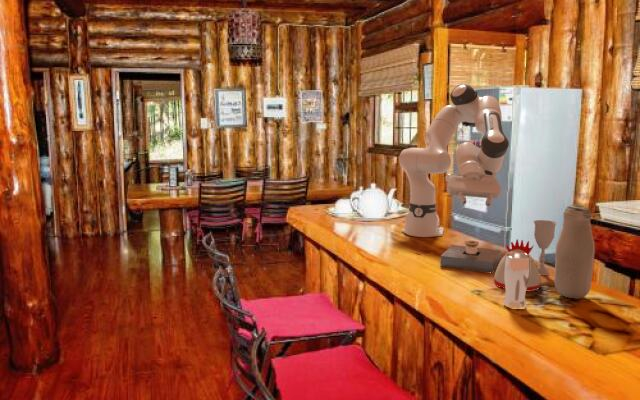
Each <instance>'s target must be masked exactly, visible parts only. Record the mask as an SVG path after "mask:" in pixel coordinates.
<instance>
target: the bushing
mask: <svg viewBox="0 0 640 400" xmlns="http://www.w3.org/2000/svg"><path fill="white" fill-rule="evenodd" d="M464 245H465V246H466V253H465V254H468V255H476V256H477V248H478V246H479V245H480V242H479V241H476V240H465V241H464Z"/></svg>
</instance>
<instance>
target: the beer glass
mask: <svg viewBox="0 0 640 400" xmlns="http://www.w3.org/2000/svg"><path fill="white" fill-rule="evenodd" d="M505 255H506V257H505V263H504V281H505V289H504V290H505V296H504V301H503V304H505V305H507V306H510V307H516V308H520V307H525V306H526V307H527V303H526V293H527V292H526V289H527V286H528V282H529V277H530V256H529V255H527V254H524V253H515V252H512V253H508V252H507V253H505Z"/></svg>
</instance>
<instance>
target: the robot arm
mask: <svg viewBox="0 0 640 400" xmlns="http://www.w3.org/2000/svg"><path fill="white" fill-rule="evenodd" d="M449 97H450V101H451V103H452V105H451V104H450V105H449V104H448V105H445V106H443V107H442V108H441V109H440V110H439V111H438V113H436V115H435V117H434V118H433V120H432V122H431V123H430V125H429V127H428V129H427V130H426V132H425V134H424V135H425V137H424V138H425V141H426V143H427V144H428V145H427V146H426V147H424V148H423V147H409V148H405V149H403V150H402V151H401V152H400V154H399V156H398V163H399V166H400V168H401V169H402V170H403V171H404V172H405V174H406V176H407V179H408V182H409V188H410V197H409V198H410V199H409V205H408V213H406V214H405V222H404V228H402V229H401V233H404V234H406V235H408V236H412V237H419V238H431V237H443V234H444V227H443V226H442V227H441V224H440V217H439V215H438V213H437V205H438V204H437V202H436V190H437V189H436V186H435V184H434V183H433V182H432V181H431V180H430V178H429V176H428V174H432V175H439V174H445V173H446V172H448V171H449V169H450V167H451V165H452V158H451V156H450V153H449V152H448V145H449V143H450V141H451V139H452V137H453V135H454V133H455V132H456V130H457V127H458V126H459V125H460V124H462V126H464V127H470V128H475V129H476V131H477V132H478V133H479V134H481V135H482V138H481V143H480V147H478V146H477V145H475V144H474V143H472V142H470V141H467V142H463V143H461V144H460V145H458V146H457V148H456V151H455V161H456V167H457V173H458V174H451V173H448V174H447V175H445V176H444V179H445V182H446V192H447V194H448V195H450V196H456V197H457V199H459V201H460V203H461V204H462V205H463V204H464V205H465V204H467V197H470V198H471V197H472V198H481V199H482V198H483V199H486V201H485V202H484V203H485V206H487V207H491V205H492V199H494V200H495V199H496V200H497V199H499V198H500V196H501V194H502V187H501V185H500V183H499V181H498V180H497V178H496V174H498V173H500V172H501V169H502V168H503V167H502V166H503V163H504V160H505V157H506V153H507V150H508V148H509V146H510V145H509V144H510V142H509V139H508V138H507V136H506V135H505V133H504V131H503V126H502V120H503V118H502V110H501V106H500V103H499V101H498V99H497V98H496V97H494V96H492V95H484V96H479V94H478V91H477V90H475V88H473V87H472V86H471V85H469V84H466V83H462V84H459V85H457V86H455V87H454V88H453V90H452V91H451V93H450V96H449Z"/></svg>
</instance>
